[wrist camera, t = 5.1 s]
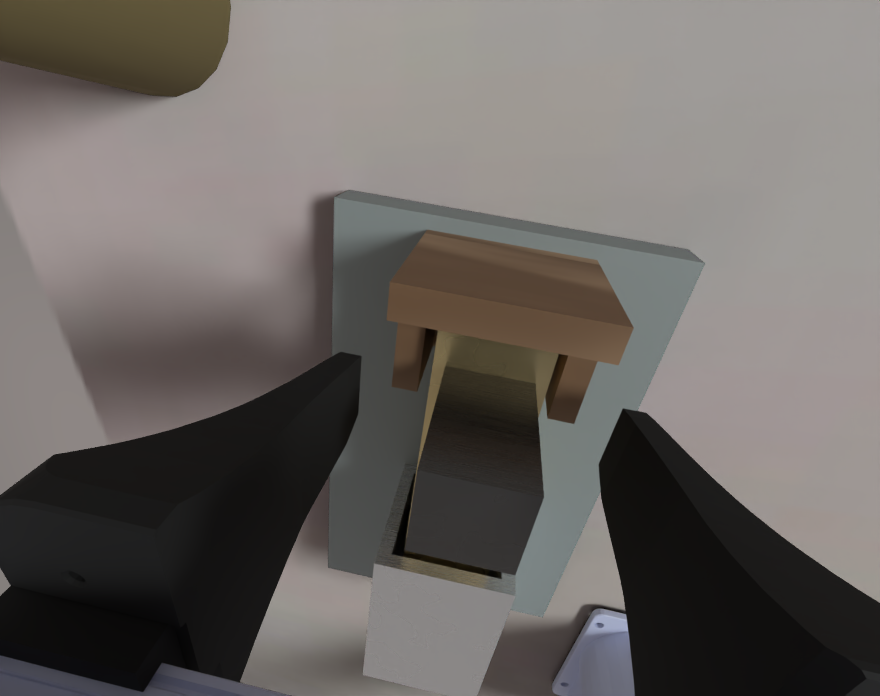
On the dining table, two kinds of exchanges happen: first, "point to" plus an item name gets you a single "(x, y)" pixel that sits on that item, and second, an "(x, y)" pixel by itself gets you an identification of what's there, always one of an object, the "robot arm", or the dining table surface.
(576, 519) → the slate board
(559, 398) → the walnut socket
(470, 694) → the aluminium sleeve
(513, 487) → the brushed brass bar
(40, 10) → the olive green pawn
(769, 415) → the dining table surface
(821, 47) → the dining table surface
